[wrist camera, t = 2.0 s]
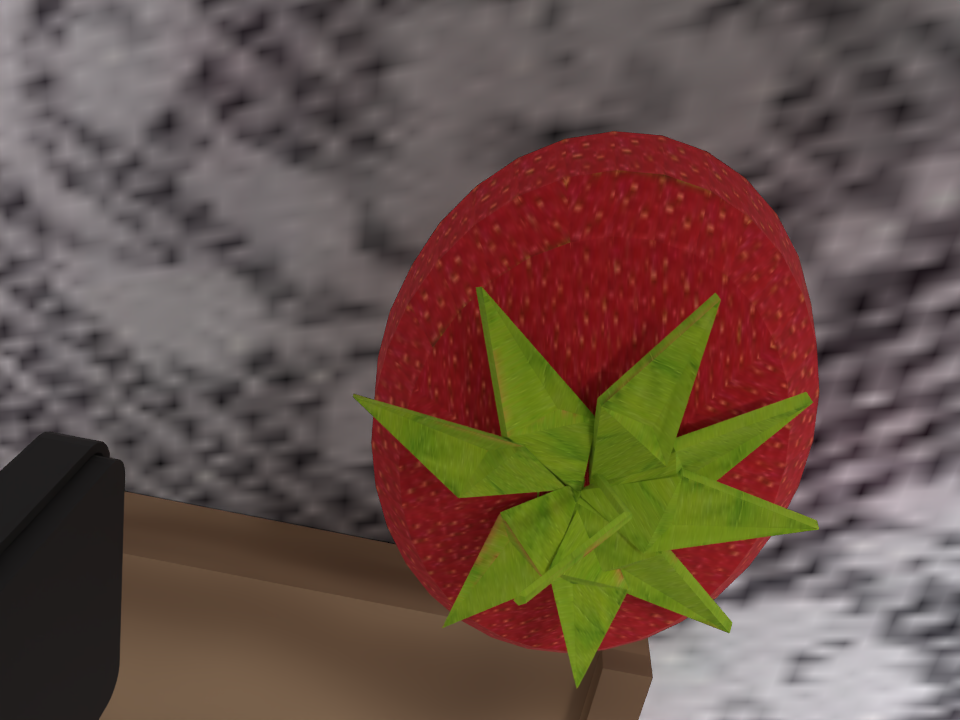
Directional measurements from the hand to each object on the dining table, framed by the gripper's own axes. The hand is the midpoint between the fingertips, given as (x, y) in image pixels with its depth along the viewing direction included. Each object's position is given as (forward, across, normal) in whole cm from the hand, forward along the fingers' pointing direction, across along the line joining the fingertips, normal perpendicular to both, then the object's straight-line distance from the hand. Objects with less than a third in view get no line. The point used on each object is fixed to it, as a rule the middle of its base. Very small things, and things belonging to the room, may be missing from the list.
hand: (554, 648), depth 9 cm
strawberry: (+10, 0, -1) cm, 10 cm away
